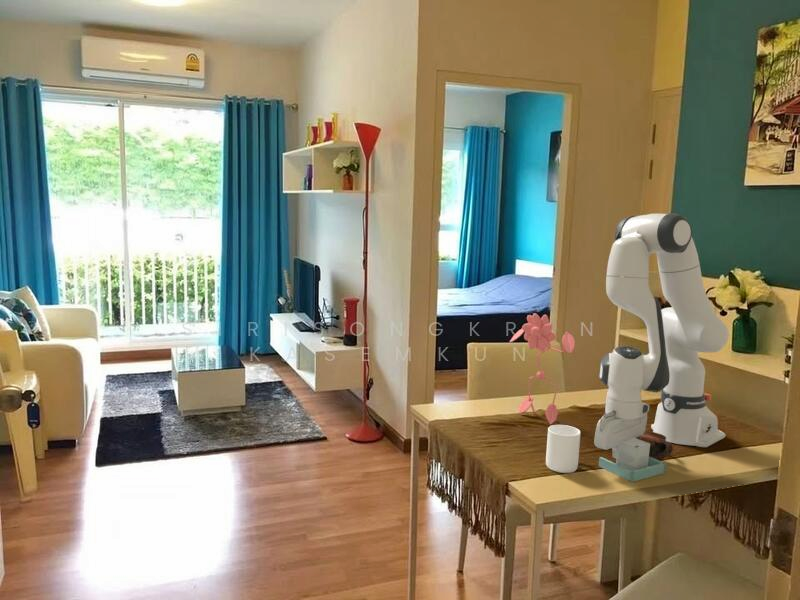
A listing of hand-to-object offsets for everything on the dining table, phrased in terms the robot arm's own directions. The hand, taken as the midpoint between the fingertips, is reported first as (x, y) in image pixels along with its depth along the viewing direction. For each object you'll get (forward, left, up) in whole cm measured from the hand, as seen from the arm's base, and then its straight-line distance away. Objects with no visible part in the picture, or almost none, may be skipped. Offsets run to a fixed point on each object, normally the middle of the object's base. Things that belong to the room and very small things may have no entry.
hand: (618, 457), depth 175 cm
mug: (+14, -6, -2) cm, 15 cm away
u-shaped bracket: (0, +4, -2) cm, 5 cm away
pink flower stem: (-2, -37, -2) cm, 37 cm away
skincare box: (-1, +4, -2) cm, 4 cm away
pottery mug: (-13, +1, -2) cm, 13 cm away
